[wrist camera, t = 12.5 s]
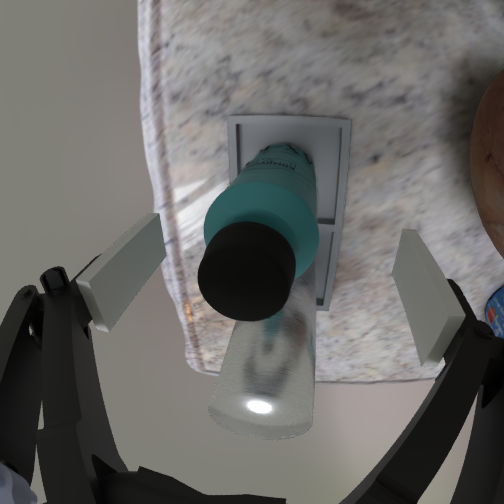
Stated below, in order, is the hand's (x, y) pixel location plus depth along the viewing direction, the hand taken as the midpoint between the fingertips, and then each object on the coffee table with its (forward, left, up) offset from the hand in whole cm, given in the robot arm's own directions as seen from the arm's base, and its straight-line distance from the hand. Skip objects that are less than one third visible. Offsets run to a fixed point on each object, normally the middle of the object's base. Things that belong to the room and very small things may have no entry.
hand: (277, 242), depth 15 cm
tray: (0, +6, -17) cm, 18 cm away
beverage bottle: (+1, 0, -16) cm, 16 cm away
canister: (0, +11, -16) cm, 19 cm away
